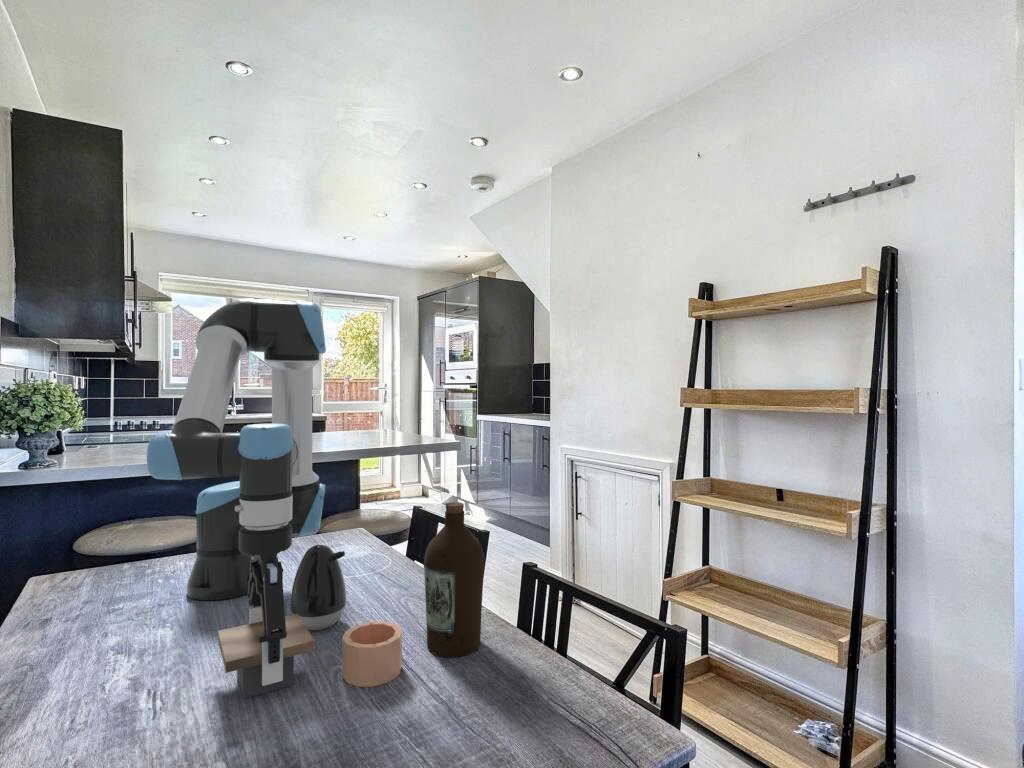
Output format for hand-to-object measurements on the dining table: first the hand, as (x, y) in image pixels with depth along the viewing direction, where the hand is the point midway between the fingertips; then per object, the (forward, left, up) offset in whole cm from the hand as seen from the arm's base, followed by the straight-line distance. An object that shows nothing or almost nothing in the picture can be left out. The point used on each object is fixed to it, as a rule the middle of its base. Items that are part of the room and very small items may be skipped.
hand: (265, 663), depth 85 cm
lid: (0, 0, +3) cm, 3 cm away
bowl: (+6, +15, -3) cm, 16 cm away
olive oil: (+5, +30, -3) cm, 31 cm away
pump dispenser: (-16, +12, -3) cm, 20 cm away
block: (0, 0, -3) cm, 3 cm away
